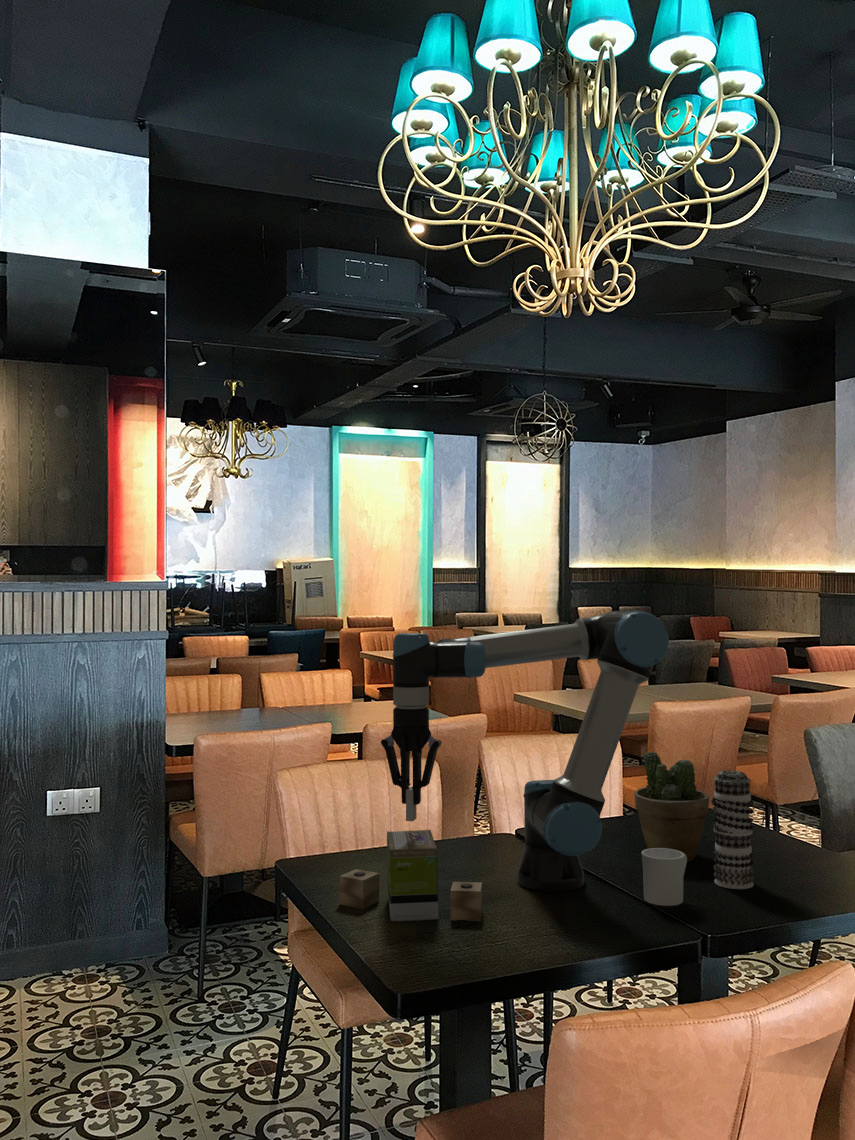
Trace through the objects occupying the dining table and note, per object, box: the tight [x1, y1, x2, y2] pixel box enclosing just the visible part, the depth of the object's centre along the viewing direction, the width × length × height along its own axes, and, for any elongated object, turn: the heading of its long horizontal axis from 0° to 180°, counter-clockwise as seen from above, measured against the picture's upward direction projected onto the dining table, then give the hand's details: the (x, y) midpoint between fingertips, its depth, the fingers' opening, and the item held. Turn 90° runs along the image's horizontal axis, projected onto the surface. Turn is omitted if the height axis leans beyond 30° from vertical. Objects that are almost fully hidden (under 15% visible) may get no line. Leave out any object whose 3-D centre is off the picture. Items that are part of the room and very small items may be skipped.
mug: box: [641, 848, 688, 909], centre depth 200 cm, size 11×9×10 cm
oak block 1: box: [339, 868, 380, 910], centre depth 200 cm, size 6×6×6 cm
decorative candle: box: [710, 769, 755, 890], centre depth 213 cm, size 9×9×25 cm
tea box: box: [386, 829, 439, 922], centre depth 196 cm, size 15×10×15 cm, turn 5°
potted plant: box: [634, 751, 710, 862], centre depth 236 cm, size 18×19×25 cm
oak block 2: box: [450, 881, 483, 922], centre depth 192 cm, size 6×6×6 cm
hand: (411, 819), depth 196 cm, fingers closed
